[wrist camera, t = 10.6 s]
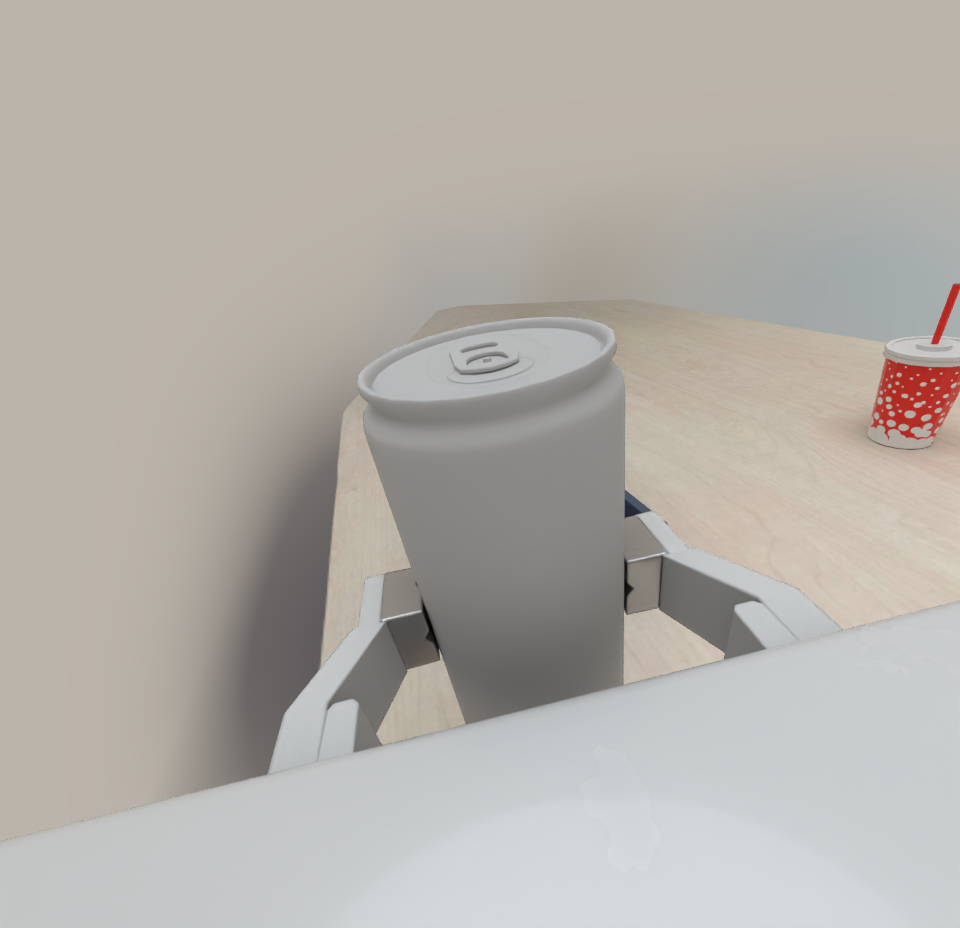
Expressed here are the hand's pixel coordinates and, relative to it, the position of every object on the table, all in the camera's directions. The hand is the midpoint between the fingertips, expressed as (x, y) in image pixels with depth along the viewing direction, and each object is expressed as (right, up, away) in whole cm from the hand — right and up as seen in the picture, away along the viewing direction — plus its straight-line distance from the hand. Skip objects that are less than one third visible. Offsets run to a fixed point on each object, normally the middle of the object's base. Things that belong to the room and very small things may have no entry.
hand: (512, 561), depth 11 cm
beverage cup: (+40, +5, +29) cm, 50 cm away
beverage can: (+1, -6, +2) cm, 6 cm away
